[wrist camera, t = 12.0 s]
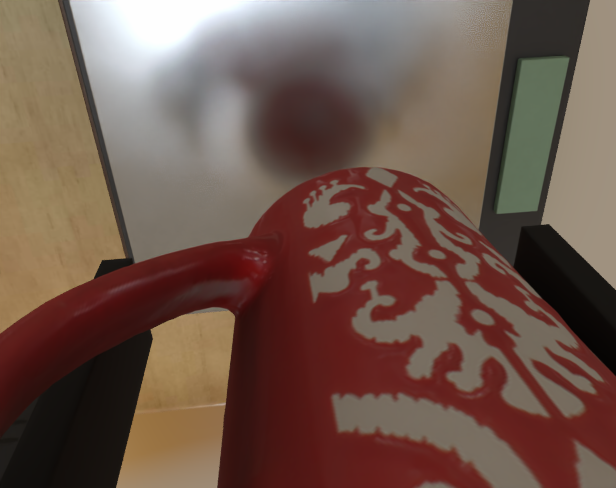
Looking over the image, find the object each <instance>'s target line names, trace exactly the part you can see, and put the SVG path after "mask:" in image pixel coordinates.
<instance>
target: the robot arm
mask: <svg viewBox="0 0 616 488" xmlns="http://www.w3.org/2000/svg"><path fill="white" fill-rule="evenodd" d="M132 264H134V263H133V259H132V258H126V259H114V260H102V262H101V264H100V266H99V268H98V271H97V273H96V275H95V277H94V279H96V278H98V277H100V276H103V275H105V274H108V273H110V272H113V271H115V270H118V269H120V268H123V267H127V266H130V265H132ZM513 268H514V269H515V270H516V271H517V272H518V273H519V274H520V275H521V276H522V278H523V279H524V280H525V281H526V282H527V283H528V284H529V285H530V286H531V287H532V288H533V289H534V290H535V292H536V293H537V294H538V295H539V296H540V297H541V298H542V299H543V300H544V301H546V302H547V303H548V304H549V305H550V306H551V307H552V308H553V309H554V310H555V311H556V312H557V313H558V314H559V315H560V316H561V318H562V319H563V320H564V321H565V323H566V324H567V325H568V326H569V328H570V329H571V330H572V331H573V332H574V333H575V334H576V335H577V336H578V338H579V339H580V340H581V341H582V342H583V343H584V344H585V345H586V346H587V347H588V348H589V349H590V350H591V351H592V353H593V354H594V355H595V356H596V357H597V358H598V359H599V360H600V361H601V362H602V363H603V364H604V365H605V366H606V367H607V368H608V369H609V370H610V371H611V372H612V373H613V374H614V375H615V376H616V290H615V289H614V288H613V287H612V286H611V285H610V284H609V283H608V282H607V281H606V280H605V279H604V278H603V277H602V276H601V275H600V274H599V273H598V272H597V271H596V270H595V269H594V268H593V267H592V266H591V265H590V264H589V263H587V261H586V260H584V258H582V256H580V255H579V254H578V253H577V252H576V251H575V250H574V249H573V248H572V247H571V246H570V245H569V244H568V243H567V242H566V241H565V240H564V239H563V238H562V237H561V236H560V235H559V234H558V233H557V232H556V231H555V230H554V229H553V228H552V227H551V226H550V225H549V224H546V225H534V226H521V231H520V236H519V242H518V247H517V252H516V257H515V262H514V267H513ZM152 340H153V338H152V334H151V330H147V331H145V332H142V333H140V334H137V335H135V336H133V337H131V338H129V339H127V340H126V341H124V342H122V343H120V344H118V345H117V346H115V347H113V348H111V349H109V350H106V351H104V352H102V353H100V354H98V355H97V356H95V357H93V358H91V359H90V360H88V361H87V362H85V363H84V364H82V365H81V366H79V367H78V368H76V369H75V370H73V371H72V372H70V373H69V374H67V375H66V376H64V377H63V378H61V379H60V380H58V381H57V382H55V383H54V384H52V385H51V386H50V387H49V388H48V389H47V390H46V391H45V392H43V393H42V394H41V395H40V396H38V397H37V398H36V399H35V400H34V401H33V402H32V403H31V404H30V405H29V406H28V407H27V408H26V409H25V410H24V411H23V412H22V414H21V415H20V416H19V417H18V418H17V419H16V420H15V422H14V423H13V424H12V425H11V426H10V427H9V428H8V430H7V431H6V432H5V433H4V434H3V436H2V437H1V438H0V488H116V485H117V481H118V477H119V473H120V469H121V465H122V461H123V457H124V453H125V449H126V445H127V441H128V437H129V433H130V428H131V425H132V421H133V417H134V413H135V409H136V405H137V401H138V396H139V392H140V388H141V384H142V380H143V376H144V372H145V368H146V364H147V360H148V356H149V352H150V348H151V344H152Z"/></svg>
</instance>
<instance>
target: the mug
mask: <svg viewBox="0 0 616 488" xmlns="http://www.w3.org/2000/svg"><path fill="white" fill-rule="evenodd" d="M212 307H217V308H224V309H228V310H229V311H231V312H232V313H233V314H234V316H235V325H234V334H233V343H232V353H231V361H230V370H229V379H228V388H227V398H226V408H225V414H224V426H223V438H222V447H221V457H220V467H219V477H218V486H217V488H616V376H615V375H614V374H613V373H612V372H611V371H610V370H609V369H608V368H607V367H606V366H605V365H604V364H603V363H602V362H601V361H600V360H599V359H598V358H597V357H596V356H595V355H594V354H593V353H592V351H591V350H590V349H589V348H588V347H587V346H586V345H585V344H584V343H583V342H582V341H581V340H580V339H579V338H578V336H577V335H576V334H575V333H574V332H573V331H572V330H571V329H570V328H569V326H568V325H567V324H566V323H565V321H564V320H563V319H562V318H561V316H560V315H559V314H558V313H557V312H556V311H555V310H554V309H553V308H552V307H551V306H550V305H549V304H548V303H547V302H546V301H544V300H543V299H542V298H541V297H540V296H539V295H538V294H537V293H536V292H535V290H534V289H533V288H532V287H531V286H530V285H529V284H528V283H527V282H526V281H525V280H524V279H523V278H522V276H521V275H520V274H519V273H518V272H517V271H516V270H515V269H514V268H513V267H512V266H511V264H510V263H509V262H508V261H507V260H506V259H505V258H504V257H503V256H502V255H501V254H500V253H499V252H498V251H497V250H496V249H495V248H494V246H493V245H492V244H491V243H490V242H489V241H488V240H487V239H486V238H485V237H484V236H483V234H482V233H481V232H480V231H479V230H478V229H477V228H476V227H475V225H474V224H473V223H472V222H471V221H470V219H469V218H468V217H467V216H466V215H465V214H464V213H463V212H462V211H461V209H460V208H459V207H458V206H457V205H456V204H455V203H454V202H453V201H452V200H451V199H450V198H449V197H447V196H446V195H445V194H444V193H442V192H441V191H440V190H439V189H437V188H436V187H435V186H433V185H432V184H430V183H429V182H426V181H424V180H422V179H420V178H419V177H416V176H413V175H411V174H408V173H405V172H401V171H397V170H393V169H387V168H381V167H357V168H350V169H341V170H336V171H332V172H329V173H326V174H323V175H320V176H318V177H315V178H313V179H310V180H308V181H306V182H303V183H301V184H299V185H297V186H296V187H294V188H293V189H291V190H290V191H289V192H287V193H286V194H284V195H283V196H282V197H281V198H279V199H278V200H277V201H276V202H275V203H274V204H273V205H272V206H271V207H270V208H269V209H268V210H267V211H266V212H265V213H264V214H263V215H262V216H261V218H260V219H259V220H258V222H257V223H256V224H255V226H254V228H253V229H252V231H251V233H250V235H249V237H247V238H243V239H236V240H231V241H219V242H213V243H208V244H204V245H200V246H196V247H192V248H188V249H184V250H179V251H175V252H172V253H168V254H165V255H161V256H157V257H154V258H151V259H148V260H145V261H142V262H138V263H135V264H132V265H130V266H127V267H123V268H120V269H118V270H115V271H113V272H110V273H108V274H105V275H103V276H100V277H98V278H96V279H93V280H91V281H89V282H86V283H84V284H82V285H80V286H77V287H75V288H73V289H71V290H69V291H67V292H65V293H63V294H61V295H59V296H57V297H55V298H53V299H51V300H49V301H47V302H45V303H44V304H42V305H41V306H39V307H38V308H36V309H35V310H33V311H32V312H30V313H29V314H27V315H26V316H24V317H23V318H21V319H20V320H18V321H17V322H16V323H14V324H13V325H11V326H10V327H9V328H7V329H6V330H5V331H3V332H2V333H1V334H0V438H1V437H2V436H3V434H4V433H5V432H6V431H7V430H8V428H9V427H10V426H11V425H12V424H13V423H14V422H15V420H16V419H17V418H18V417H19V416H20V415H21V414H22V412H23V411H24V410H25V409H26V408H27V407H28V406H29V405H30V404H31V403H32V402H33V401H34V400H35V399H36V398H37V397H38V396H40V395H41V394H42V393H43V392H45V391H46V390H47V389H48V388H49V387H50V386H51V385H52V384H54V383H55V382H57V381H58V380H60V379H61V378H63V377H64V376H66V375H67V374H69V373H70V372H72V371H73V370H75V369H76V368H78V367H79V366H81V365H82V364H84V363H85V362H87V361H88V360H90V359H91V358H93V357H95V356H97V355H98V354H100V353H102V352H104V351H106V350H109V349H111V348H113V347H115V346H117V345H118V344H120V343H122V342H124V341H126V340H127V339H129V338H131V337H133V336H135V335H137V334H140V333H142V332H145V331H147V330H150V329H152V328H154V327H156V326H158V325H160V324H162V323H164V322H166V321H168V320H171V319H174V318H177V317H179V316H181V315H184V314H188V313H191V312H194V311H198V310H203V309H207V308H212Z"/></svg>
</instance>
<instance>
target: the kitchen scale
mask: <svg viewBox="0 0 616 488" xmlns="http://www.w3.org/2000/svg"><path fill="white" fill-rule="evenodd" d="M589 2H590V0H62V3H63V6H64V10H65V14H66V18H67V22H68V26H69V30H70V33H71V37H72V41H73V45H74V49H75V53H76V57H77V60H78V64H79V68H80V72H81V76H82V80H83V84H84V87H85V91H86V95H87V99H88V103H89V107H90V111H91V114H92V118H93V122H94V126H95V130H96V134H97V137H98V141H99V145H100V149H101V153H102V157H103V161H104V164H105V168H106V172H107V176H108V180H109V184H110V188H111V191H112V195H113V199H114V203H115V207H116V211H117V215H118V218H119V222H120V226H121V230H122V234H123V238H124V241H125V245H126V249H127V253H128V257H129V258H132V259H133V263H134V264H135V263H138V262H142V261H145V260H148V259H151V258H154V257H157V256H161V255H165V254H168V253H172V252H175V251H179V250H184V249H188V248H192V247H196V246H200V245H204V244H208V243H213V242H219V241H231V240H236V239H243V238H247V237H249V235H250V233H251V231H252V229H253V228H254V226H255V224H256V223H257V222H258V220H259V219H260V218H261V216H262V215H263V214H264V213H265V212H266V211H267V210H268V209H269V208H270V207H271V206H272V205H273V204H274V203H275V202H276V201H277V200H278V199H279V198H281V197H282V196H283V195H284V194H286V193H287V192H289V191H290V190H291V189H293V188H294V187H296V186H297V185H299V184H301V183H303V182H306V181H308V180H310V179H313V178H315V177H318V176H320V175H323V174H326V173H329V172H332V171H336V170H341V169H350V168H357V167H381V168H387V169H393V170H397V171H401V172H405V173H408V174H411V175H413V176H416V177H419V178H420V179H422V180H424V181H426V182H429V183H430V184H432V185H433V186H435V187H436V188H437V189H439V190H440V191H441V192H442V193H444V194H445V195H446V196H447V197H449V198H450V199H451V200H452V201H453V202H454V203H455V204H456V205H457V206H458V207H459V208H460V209H461V211H462V212H463V213H464V214H465V215H466V216H467V217H468V218H469V219H470V221H471V222H472V223H473V224H474V225H475V227H476V228H477V229H478V230H479V231H480V232H481V233H482V234H483V236H484V237H485V238H486V239H487V240H488V241H489V242H490V243H491V244H492V245H493V246H494V248H495V249H496V250H497V251H498V252H499V253H500V254H501V255H502V256H503V257H504V258H505V259H506V260H507V261H508V262H509V263H510V264H511V266H512V267H514V262H515V257H516V252H517V247H518V242H519V236H520V231H521V226H534V225H541V221H542V216H543V212H544V208H545V203H546V199H547V194H548V189H549V184H550V180H551V176H552V171H553V166H554V162H555V158H556V153H557V148H558V144H559V139H560V134H561V130H562V126H563V121H564V116H565V112H566V107H567V103H568V98H569V93H570V89H571V85H572V80H573V75H574V70H575V66H576V62H577V57H578V52H579V48H580V44H581V39H582V34H583V30H584V25H585V21H586V16H587V11H588V7H589ZM217 311H228V309H224V308H217V307H212V308H207V309H203V310H198V311H194V312H191V313H188V314H194V313H205V312H217Z"/></svg>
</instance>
